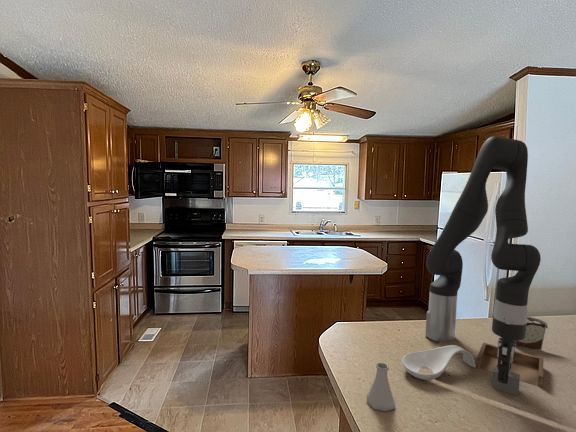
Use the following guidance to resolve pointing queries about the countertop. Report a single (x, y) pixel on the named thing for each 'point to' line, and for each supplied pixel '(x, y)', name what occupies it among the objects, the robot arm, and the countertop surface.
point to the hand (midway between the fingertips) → (504, 375)
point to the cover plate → (510, 386)
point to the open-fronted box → (513, 364)
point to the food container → (533, 334)
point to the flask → (381, 390)
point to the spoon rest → (434, 360)
